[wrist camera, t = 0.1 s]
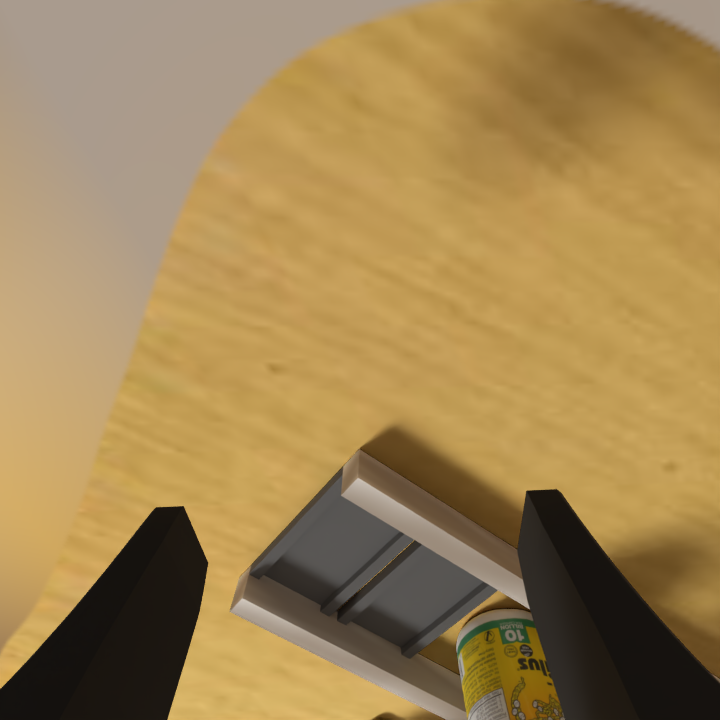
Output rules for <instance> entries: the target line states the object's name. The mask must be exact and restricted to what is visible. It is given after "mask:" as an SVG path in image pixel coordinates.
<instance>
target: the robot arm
mask: <svg viewBox="0 0 720 720" xmlns="http://www.w3.org/2000/svg"><path fill="white" fill-rule="evenodd" d="M517 553H518V558H519V563H520V568H521V573H522V578H523V583H524V587H525V592H526V597H527V601H528V605H529V608H530V611H531V614H532V618H533V621H534V624H535V627H536V630H537V633H538V637H539V640H540V643H541V646H542V649H543V652H544V655H545V659H546V662H547V665H548V668H549V671H550V674H551V677H552V681H553V684H554V687H555V690H556V693H557V696H558V699H559V702H560V706H561V709H562V712H563V715H564V718H565V720H720V682H719V681H718V680H717V679H716V678H715V677H714V676H713V675H712V674H711V673H710V672H709V671H708V670H707V669H706V668H705V667H704V666H703V665H702V664H701V663H700V662H699V661H698V660H697V659H696V658H695V657H694V655H693V654H692V653H691V652H690V651H689V650H688V649H687V648H686V647H685V646H684V645H683V644H682V643H681V642H680V640H679V639H678V638H677V637H676V636H675V635H674V634H673V633H672V632H671V630H670V629H669V628H668V627H667V626H666V625H665V624H664V623H663V622H662V620H661V619H660V618H659V617H658V616H657V615H656V614H655V612H654V611H653V610H652V609H651V608H650V607H649V606H648V604H647V603H646V602H645V601H644V600H643V599H642V597H641V596H640V595H639V594H638V593H637V591H636V590H635V589H634V588H633V587H632V585H631V584H630V583H629V582H628V580H627V579H626V578H625V577H624V576H623V574H622V573H621V572H620V571H619V570H618V568H617V567H616V566H615V565H614V563H613V562H612V561H611V560H610V558H609V557H608V556H607V555H606V553H605V552H604V551H603V549H602V548H601V547H600V545H599V544H598V543H597V541H596V540H595V539H594V538H593V536H592V535H591V534H590V532H589V531H588V530H587V528H586V527H585V526H584V524H583V523H582V521H581V520H580V519H579V517H578V516H577V515H576V513H575V512H574V510H573V509H572V508H571V506H570V505H569V503H568V502H567V500H566V499H565V498H564V496H563V495H562V493H561V492H559V491H558V490H557V489H554V490H532V491H526V497H525V504H524V510H523V517H522V523H521V530H520V536H519V543H518V549H517ZM207 567H208V562H207V559H206V557H205V555H204V552H203V550H202V548H201V545H200V543H199V541H198V538H197V536H196V534H195V531H194V529H193V527H192V525H191V522H190V520H189V518H188V515H187V513H186V511H185V508H184V506H178V507H156V508H155V509H154V510H153V511H152V512H151V514H150V515H149V516H148V517H147V519H146V520H145V521H144V522H143V524H142V525H141V526H140V527H139V529H138V530H137V531H136V533H135V534H134V535H133V536H132V538H131V539H130V540H129V541H128V543H127V544H126V545H125V547H124V548H123V549H122V550H121V552H120V553H119V554H118V555H117V557H116V558H115V559H114V560H113V562H112V563H111V564H110V565H109V567H108V568H107V569H106V570H105V572H104V573H103V574H102V575H101V576H100V578H99V579H98V580H97V581H96V582H95V584H94V585H93V586H92V587H91V589H90V590H89V591H88V592H87V593H86V595H85V596H84V597H83V598H82V599H81V601H80V602H79V603H78V604H77V605H76V607H75V608H74V609H73V610H72V611H71V612H70V614H69V615H68V616H67V617H66V618H65V619H64V620H63V622H62V623H61V624H60V625H59V626H58V627H57V628H56V629H55V631H54V632H53V633H52V634H51V635H50V636H49V637H48V638H47V640H46V641H45V642H44V643H43V644H42V645H41V646H40V647H39V649H38V650H37V651H36V652H35V653H34V654H33V655H32V656H31V657H30V659H29V660H28V661H27V662H26V663H25V664H24V665H23V666H22V667H21V668H20V669H19V670H18V671H17V672H16V673H15V675H14V676H13V677H12V678H11V679H10V680H9V681H8V682H7V683H6V684H5V685H4V686H3V687H2V688H1V689H0V720H167V719H168V715H169V712H170V709H171V705H172V702H173V699H174V696H175V692H176V689H177V686H178V682H179V679H180V676H181V672H182V669H183V666H184V663H185V659H186V656H187V653H188V649H189V646H190V643H191V639H192V636H193V632H194V629H195V626H196V622H197V619H198V615H199V612H200V606H201V601H202V596H203V591H204V585H205V579H206V573H207Z"/></svg>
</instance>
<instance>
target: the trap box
mask: <svg viewBox="0 0 720 720" xmlns="http://www.w3.org/2000/svg"><path fill="white" fill-rule="evenodd" d="M341 496H343V497H344V498H346V499H348V500H349V501H351V502H353V503H354V504H356V505H357V506H359V507H361V508H362V509H364V510H366V511H367V512H369V513H371V514H372V515H374V516H376V517H377V518H379V519H381V520H382V521H384V522H386V523H387V524H389V525H391V526H392V527H394V528H396V529H397V530H399V531H401V532H402V533H404V534H406V535H407V536H409V537H411V538H412V539H414V540H416V541H417V542H419V543H421V544H422V545H424V546H426V547H427V548H429V549H431V550H432V551H434V552H435V553H437V554H439V555H440V556H442V557H444V558H445V559H447V560H449V561H450V562H452V563H454V564H455V565H457V566H459V567H460V568H462V569H464V570H465V571H467V572H469V573H470V574H472V575H474V576H475V577H477V578H479V579H480V580H482V581H484V582H485V583H487V584H489V585H490V586H492V587H494V588H495V589H497V590H499V591H500V592H502V593H504V594H505V595H507V596H508V597H510V598H512V599H513V600H515V601H517V602H518V603H520V604H522V605H523V606H525V607H527V608H528V609H530V608H529V605H528V601H527V597H526V592H525V587H524V583H523V578H522V573H521V568H520V563H519V558H518V553H517V549H515V548H514V547H512V546H511V545H509V544H507V543H506V542H504V541H503V540H501V539H500V538H498V537H496V536H495V535H493V534H492V533H490V532H489V531H487V530H485V529H484V528H482V527H481V526H479V525H478V524H476V523H475V522H473V521H471V520H470V519H468V518H467V517H465V516H464V515H462V514H460V513H459V512H457V511H456V510H454V509H453V508H451V507H449V506H448V505H446V504H445V503H443V502H442V501H440V500H438V499H437V498H435V497H434V496H432V495H431V494H429V493H427V492H426V491H424V490H423V489H421V488H420V487H418V486H416V485H415V484H413V483H412V482H410V481H409V480H407V479H406V478H404V477H402V476H401V475H399V474H398V473H396V472H395V471H393V470H391V469H390V468H388V467H387V466H385V465H384V464H382V463H380V462H379V461H377V460H376V459H374V458H373V457H371V456H369V455H368V454H366V453H365V452H363V451H362V450H360V449H359V450H358V451H357V452H356V453H355V454H354V455H353V456H352V457H351V458H350V459H349V461H348V462H347V463H346V464H345V465H344V466H343V477H342V489H341ZM250 568H251V566H250V567H249V568H248V569H247V570H246V571H245V572H244V573H243V574H242V575H241V577H240V578H239V580H238V584H237V587H236V591H235V594H234V598H233V601H232V605H231V608H230V612H231V613H233V614H235V615H237V616H239V617H241V618H243V619H245V620H247V621H249V622H251V623H253V624H255V625H257V626H259V627H261V628H263V629H265V630H267V631H269V632H271V633H273V634H275V635H277V636H279V637H281V638H283V639H285V640H287V641H289V642H291V643H293V644H295V645H297V646H299V647H301V648H303V649H305V650H307V651H309V652H311V653H313V654H315V655H317V656H319V657H321V658H323V659H325V660H327V661H329V662H331V663H333V664H335V665H337V666H339V667H341V668H343V669H345V670H347V671H349V672H351V673H353V674H355V675H358V676H360V677H362V678H364V679H366V680H368V681H370V682H372V683H374V684H376V685H378V686H380V687H382V688H384V689H386V690H388V691H390V692H392V693H394V694H396V695H398V696H400V697H402V698H404V699H406V700H408V701H410V702H412V703H414V704H416V705H418V706H420V707H422V708H424V709H426V710H428V711H430V712H432V713H434V714H436V715H438V716H440V717H442V718H444V719H446V720H467V714H466V708H465V702H464V695H463V690H462V684H461V677H460V676H459V675H457V674H455V673H454V672H452V671H450V670H448V669H446V668H444V667H442V666H440V665H439V664H437V663H435V662H433V661H431V660H429V659H427V658H425V657H423V656H422V655H420V654H418V653H417V654H416V655H414V656H413V657H412V658H411V659H409V658H407V657H405V656H403V655H401V648H400V647H399V646H397V645H395V644H393V643H391V642H389V641H387V640H385V639H383V638H382V637H380V636H378V635H376V634H374V633H372V632H370V631H368V630H366V629H365V628H363V627H361V626H359V625H357V624H355V623H353V622H350V623H348V624H347V625H344V624H342V623H340V622H338V621H337V614H338V611H337V610H336V611H335V612H334V613H333V614H332V615H331V616H330V617H329V616H327V615H325V614H323V613H321V612H320V608H321V605H319V604H317V603H316V602H314V601H312V600H310V599H308V598H306V597H304V596H302V595H300V594H299V593H297V592H295V591H293V590H291V589H289V588H287V587H285V586H283V585H282V584H280V583H278V582H276V581H274V580H272V579H270V578H268V577H266V576H265V575H263V576H262V577H261V578H260V579H259V580H258V579H257V578H255V577H253V576H251V575H249V572H250ZM712 675H713V674H712ZM713 676H714V675H713ZM714 677H715V678H716V679H717V680H718V681H719V682H720V679H719V678H718V677H716V676H714Z"/></svg>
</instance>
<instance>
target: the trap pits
mask: <svg viewBox="0 0 720 720" xmlns="http://www.w3.org/2000/svg"><path fill="white" fill-rule="evenodd" d="M342 477H343V467H342V468H341V469H340V470H339V471H338V472H337V473H336V475H335V476H334V477H333V478H332V479H331V480H330V481H329V482H328V483H327V484H326V485H325V486H324V487H323V488H322V490H321V491H320V492H319V493H318V494H317V495H316V496H315V497H314V498H313V499H312V500H311V501H310V502H309V504H308V505H307V506H306V507H305V508H304V509H303V510H302V511H301V512H300V513H299V514H298V515H297V516H296V517H295V519H294V520H293V521H292V522H291V523H290V524H289V525H288V526H287V527H286V528H285V529H284V530H283V531H282V533H281V534H280V535H279V536H278V537H277V538H276V539H275V540H274V541H273V542H272V543H271V544H270V545H269V546H268V548H267V549H266V550H265V551H264V552H263V553H262V554H261V555H260V556H259V557H258V558H257V559H256V560H255V562H254V563H253V564H252V565H251V568H250V572H249V575H251V576H253V577H255V578H257V579H258V580H259V579H260V578H261V577H262V576H263V575H265V576H266V577H268V578H270V579H272V580H274V581H276V582H278V583H280V584H282V585H283V586H285V587H287V588H289V589H291V590H293V591H295V592H297V593H299V594H300V595H302V596H304V597H306V598H308V599H310V600H312V601H314V602H316V603H317V604H319V605H321V608H320V612H321V613H323V614H325V615H327V616H329V617H330V616H331V615H332V614H333V613H334V612H335V611H336V610H337V609H338V608H340V607H341V606H342V605H343V604H344V603H345V602H346V601H347V600H348V599H349V598H351V597H352V596H353V595H354V594H355V593H356V592H357V591H358V590H359V589H360V588H362V587H363V586H364V585H365V584H366V583H367V582H368V581H369V580H370V579H371V578H373V577H374V576H375V575H376V574H377V573H378V572H379V571H380V570H381V569H382V568H384V567H385V566H386V565H387V564H388V563H389V562H390V561H391V560H392V559H393V558H395V557H396V556H397V555H398V554H399V553H400V552H401V551H402V550H403V549H404V548H406V547H407V546H408V545H409V544H410V543H411V542H412V541H413V540H414V539H412V538H411V537H409V536H407V535H406V534H404V533H402V532H401V531H399V530H397V529H396V528H394V527H392V526H391V525H389V524H387V523H386V522H384V521H382V520H381V519H379V518H377V517H376V516H374V515H372V514H371V513H369V512H367V511H366V510H364V509H362V508H361V507H359V506H357V505H356V504H354V503H353V502H351V501H349V500H348V499H346V498H344V497H343V496H341V489H342ZM496 591H498V590H497V589H495V588H494V587H492V586H490V585H489V584H487V583H485V582H484V581H482V580H480V579H479V578H477V577H475V576H474V575H472V574H470V573H469V572H467V571H465V570H464V569H462V568H460V567H459V566H457V565H455V564H454V563H452V562H450V561H449V560H447V559H445V558H444V557H442V556H440V555H439V554H437V553H435V552H434V551H432V550H431V549H429V548H427V547H426V546H424V545H422V544H421V543H419V542H417V541H416V540H415V541H414V542H413V543H412V544H411V545H410V546H409V547H408V548H406V549H405V550H404V551H403V552H402V553H401V554H400V555H399V556H398V557H397V558H395V559H394V560H393V561H392V562H391V563H390V564H389V565H388V566H387V567H386V568H384V569H383V570H382V571H381V572H380V573H379V574H378V575H377V576H376V577H374V578H373V579H372V580H371V581H370V582H369V583H368V584H367V585H366V586H365V587H363V588H362V589H361V590H360V591H359V592H358V593H357V594H356V595H355V596H354V597H352V598H351V599H350V600H349V601H348V602H347V603H346V604H345V605H344V606H343V607H341V608H340V609H339V610H338V614H337V621H338V622H340V623H342V624H344V625H347V624H348V623H350V622H353V623H355V624H357V625H359V626H361V627H363V628H365V629H366V630H368V631H370V632H372V633H374V634H376V635H378V636H380V637H382V638H383V639H385V640H387V641H389V642H391V643H393V644H395V645H397V646H399V647H400V648H401V655H403V656H405V657H407V658H409V659H411V658H412V657H413V656H414V655H416V654H417V653H418V652H420V651H421V650H422V649H423V648H425V647H426V646H427V645H429V644H430V643H431V642H432V641H434V640H435V639H436V638H437V637H439V636H440V635H441V634H443V633H444V632H445V631H446V630H448V629H449V628H450V627H452V626H453V625H454V624H455V623H457V622H458V621H459V620H461V619H462V618H463V617H464V616H466V615H467V614H468V613H470V612H471V611H472V610H473V609H475V608H476V607H477V606H478V605H480V604H481V603H482V602H484V601H485V600H486V599H487V598H489V597H490V596H491V595H493V594H494V593H495V592H496Z"/></svg>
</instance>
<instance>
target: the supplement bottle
mask: <svg viewBox="0 0 720 720" xmlns="http://www.w3.org/2000/svg"><path fill="white" fill-rule="evenodd" d="M456 651H457V658H458V665H459V671H460V677H461V684H462V690H463V695H464V702H465V708H466V714H467V720H565V718H564V715H563V712H562V709H561V706H560V702H559V699H558V696H557V693H556V690H555V687H554V684H553V681H552V677H551V674H550V671H549V668H548V665H547V662H546V659H545V655H544V652H543V649H542V646H541V643H540V640H539V637H538V633H537V630H536V627H535V624H534V621H533V618H532V614H531V613H530V612H527V611H524V610H519V609H497V610H492V611H488V612H485V613H482V614H480V615H478V616H476V617H474V618H473V619H471V620H470V621H469V622H468V623H467V624H466V625H465V626H464V627H463V628H462V629H461V631H460V633H459V635H458V638H457V643H456Z"/></svg>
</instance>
